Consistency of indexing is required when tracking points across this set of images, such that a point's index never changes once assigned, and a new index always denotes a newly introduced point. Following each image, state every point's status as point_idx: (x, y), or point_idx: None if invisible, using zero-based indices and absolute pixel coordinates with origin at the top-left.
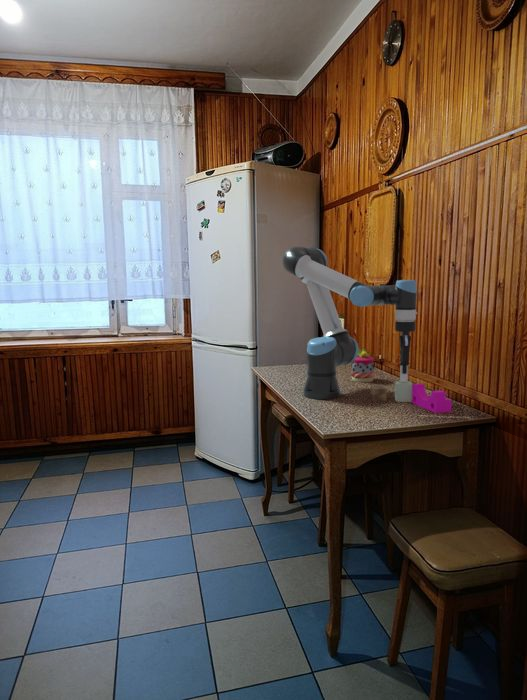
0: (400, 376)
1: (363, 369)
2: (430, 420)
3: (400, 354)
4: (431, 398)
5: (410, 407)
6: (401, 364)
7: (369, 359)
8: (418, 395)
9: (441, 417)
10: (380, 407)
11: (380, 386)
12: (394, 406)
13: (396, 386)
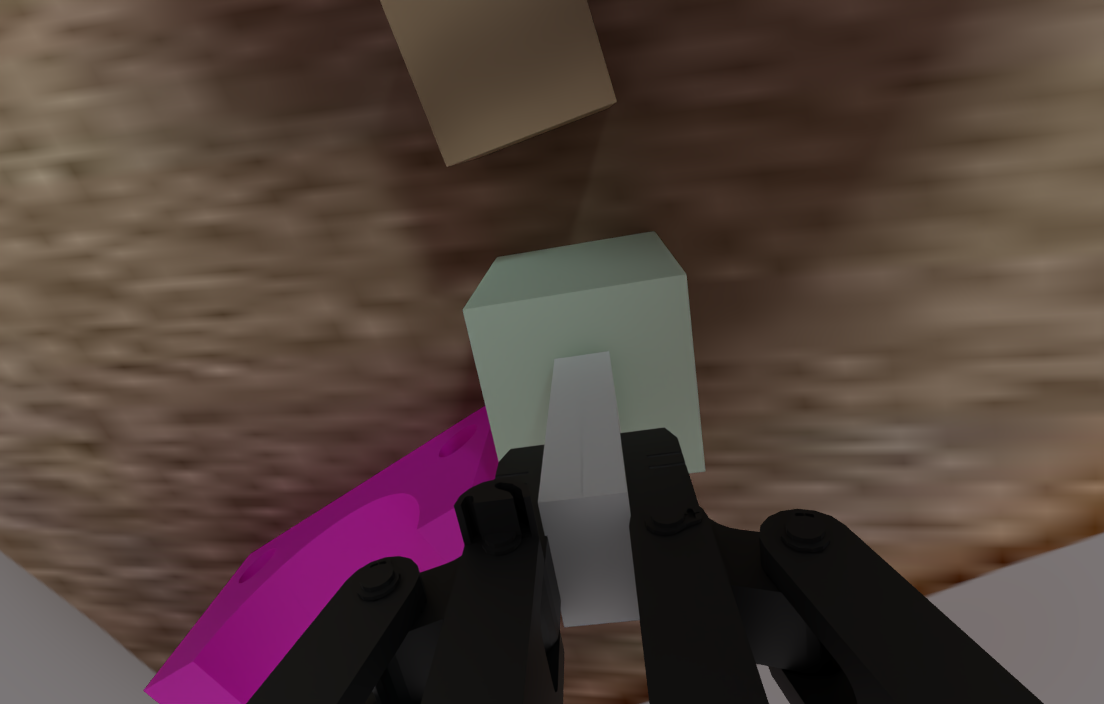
0: (551, 391)
1: None
2: (37, 522)
3: (878, 686)
4: (235, 603)
5: (327, 391)
6: (468, 536)
7: None
8: (402, 496)
9: (152, 582)
10: (199, 128)
11: (573, 59)
12: (300, 258)
13: (470, 300)
